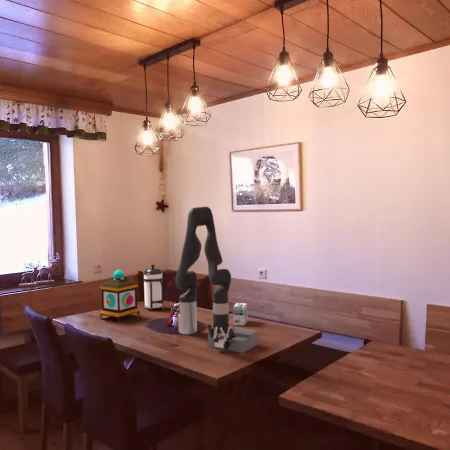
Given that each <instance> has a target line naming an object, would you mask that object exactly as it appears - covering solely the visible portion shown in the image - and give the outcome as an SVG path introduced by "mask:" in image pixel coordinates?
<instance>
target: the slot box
mask: <svg viewBox="0 0 450 450" xmlns="http://www.w3.org/2000/svg"><path fill="white" fill-rule="evenodd" d="M229 326H230V327H232V328H233V327H234V328H235V330H234V335H235V336H237V337H235V338H233V339H232V340H231V345H229V347H228V348H227V349H225V348H220V347H215V346H214V339H213V338H212V337H210V333H208V334H207V346H208V347H211V348H215V349H222V350H225V351H231V352H236V353H240V354H241V353H242V354H244V353H247V352H248V351H250V350H251V349H253V348H255V347H257V346H258V344H259V343H258V341H259V340H258V339H259V337H258V335H259V334H258V330H256V329H255V330H254V329H249V328H242V327H237V326H236V327H235V326H231V325H229ZM228 333H229V329H228ZM225 334H226V333H225ZM223 338H224V337H223V335H222V334H221V333H220V334H219V336H218V340H220V339H223Z"/></svg>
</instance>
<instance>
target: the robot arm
mask: <svg viewBox="0 0 450 450" xmlns="http://www.w3.org/2000/svg"><path fill="white" fill-rule="evenodd" d="M214 220H215V219H214V215H213V213H212V210H211V208H210V207H209V206H197V207H191V208H190V210H189V211H188V214H187V220H186V221H187V222H186V230H185V231H186V233H185V236H184V237H185V238H184V241H183V245H182V246H183V247H182V251H181V257H180V263H179V266H178V268H177V272H176V276H175V286H176V288H178V289H179V290H186V289H188V290H187V291H185V292H184V293H181V294H180V295H179V297H178V302H179V303H178V305H179V314H178V315H177V321H178V322H177V323H178V325H177V326H178V330H177V331H178V333H180V334H182V335H194V334H196V333H197V332H198V320H197V318H198V317H197V316H198V315H197V291H198V290H197V289H198V288H197V286H198V284H197V283H198V281H197V280H198V279H197V278H198V277H197V273H196V272H195V271H194V270H189V269H190V268H191V267H192V266H193V265H194V264H195V263H196V262H197V261H198V259H199V258H200V256H201V251H202V242H201V240H200V238H199V237H198V235H197V228H198V227H203V226H205V228H206V231H207V233H206V239H205V241H204V248H203V249H204V255H205V258H206V261H207V269H208V271H207V273H208V280H209V283H210V284H211V285H212V286H218V288H216V289H215V290H213V292H212V322H213V323H210V324H207V328H208V332H209V333H208V334H210V337H212V338H213V339H214V346H215V342H216V341H218V336H219V334H220V333H221V334H222V335H223V337H224V340H225V341H224V343H225V349H227V348H228V347H229V341H230V340H232V339H233V335H234V330H235V328H234V327H235V326H232V327H233V328H232V327H230V326H231V325H229V322H230V311H229V310H230V308H229V307H230V306H229V291H230V288H231V287H230V286H231V283H232V274H231V272H230V270H229V269H227V268H221V269H218V266H220V265H221V264H222V263H223V257H222V254H221V251H220V247H219V244H218V239H217V233H216V232H217V231H216V227H215V221H214ZM228 329H229V333H228ZM225 333H226V334H225ZM225 349H224V350H225Z"/></svg>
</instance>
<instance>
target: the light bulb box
mask: <svg viewBox="0 0 450 450" xmlns="http://www.w3.org/2000/svg"><path fill="white" fill-rule="evenodd" d="M232 310H233V312H232V313H233V326H245V325H246V324H247V323H248V303H245V302H236V303H235V304H234V305H233V309H232Z"/></svg>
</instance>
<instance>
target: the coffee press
mask: <svg viewBox="0 0 450 450" xmlns="http://www.w3.org/2000/svg"><path fill="white" fill-rule="evenodd" d="M143 294H144V295H143V296H144V298H143V299H144V300H143V301H144V304H143V305H144V306H143V307H142V309H143V308H147V309H149V310H150V311H149V312H153V311H154V309H159V308H162V310H165V309H166V306H165V305H164V302H165V285H164V281H163V270H162V268H160V267H155V264H151V266H150V267H148V268H146V269H144V271H143ZM152 310H153V311H152Z"/></svg>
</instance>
